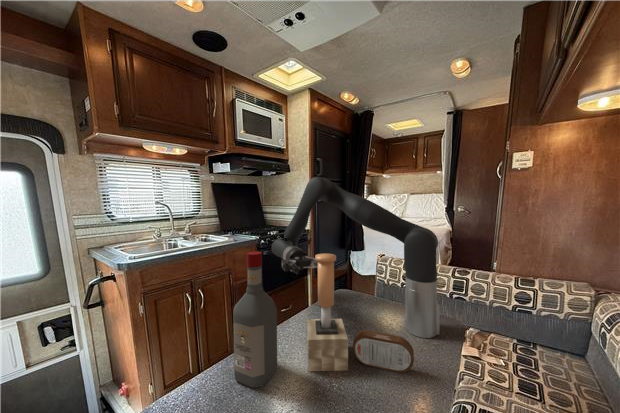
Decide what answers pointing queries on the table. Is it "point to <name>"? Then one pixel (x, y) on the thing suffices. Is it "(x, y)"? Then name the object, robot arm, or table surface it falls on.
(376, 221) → the robot arm
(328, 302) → the flanged tan peg
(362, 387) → the table surface
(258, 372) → the liquor
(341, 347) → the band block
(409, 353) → the tin
